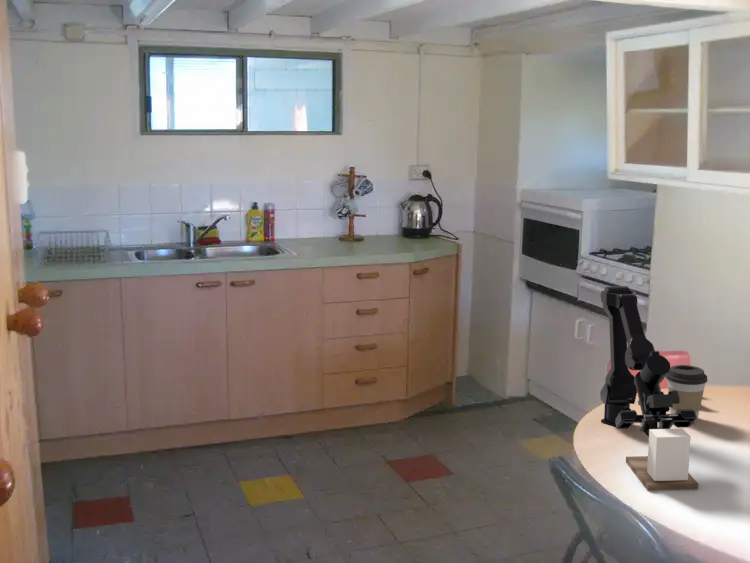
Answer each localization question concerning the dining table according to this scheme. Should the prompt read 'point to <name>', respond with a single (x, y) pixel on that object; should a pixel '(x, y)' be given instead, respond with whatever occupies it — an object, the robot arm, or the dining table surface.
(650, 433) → the block
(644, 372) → the robot arm
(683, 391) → the coffee cup
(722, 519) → the dining table surface
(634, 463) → the board
